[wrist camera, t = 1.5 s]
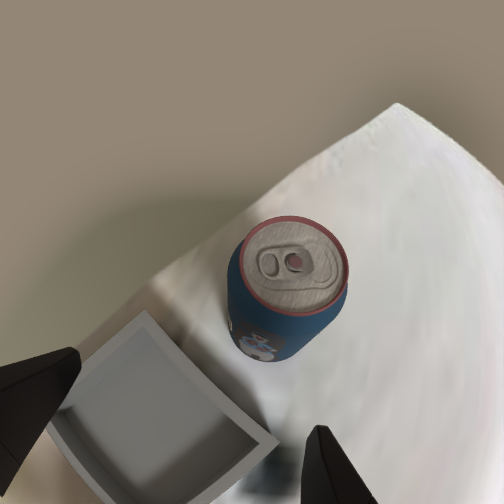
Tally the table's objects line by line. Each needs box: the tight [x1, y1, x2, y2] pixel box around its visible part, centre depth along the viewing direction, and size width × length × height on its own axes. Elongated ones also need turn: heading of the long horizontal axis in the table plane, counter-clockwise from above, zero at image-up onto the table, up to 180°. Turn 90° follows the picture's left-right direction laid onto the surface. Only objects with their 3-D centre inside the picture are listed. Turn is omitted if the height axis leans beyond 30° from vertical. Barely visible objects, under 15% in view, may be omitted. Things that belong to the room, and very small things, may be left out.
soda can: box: [227, 216, 349, 362], centre depth 19 cm, size 7×7×12 cm
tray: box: [45, 309, 280, 504], centre depth 17 cm, size 14×14×4 cm
